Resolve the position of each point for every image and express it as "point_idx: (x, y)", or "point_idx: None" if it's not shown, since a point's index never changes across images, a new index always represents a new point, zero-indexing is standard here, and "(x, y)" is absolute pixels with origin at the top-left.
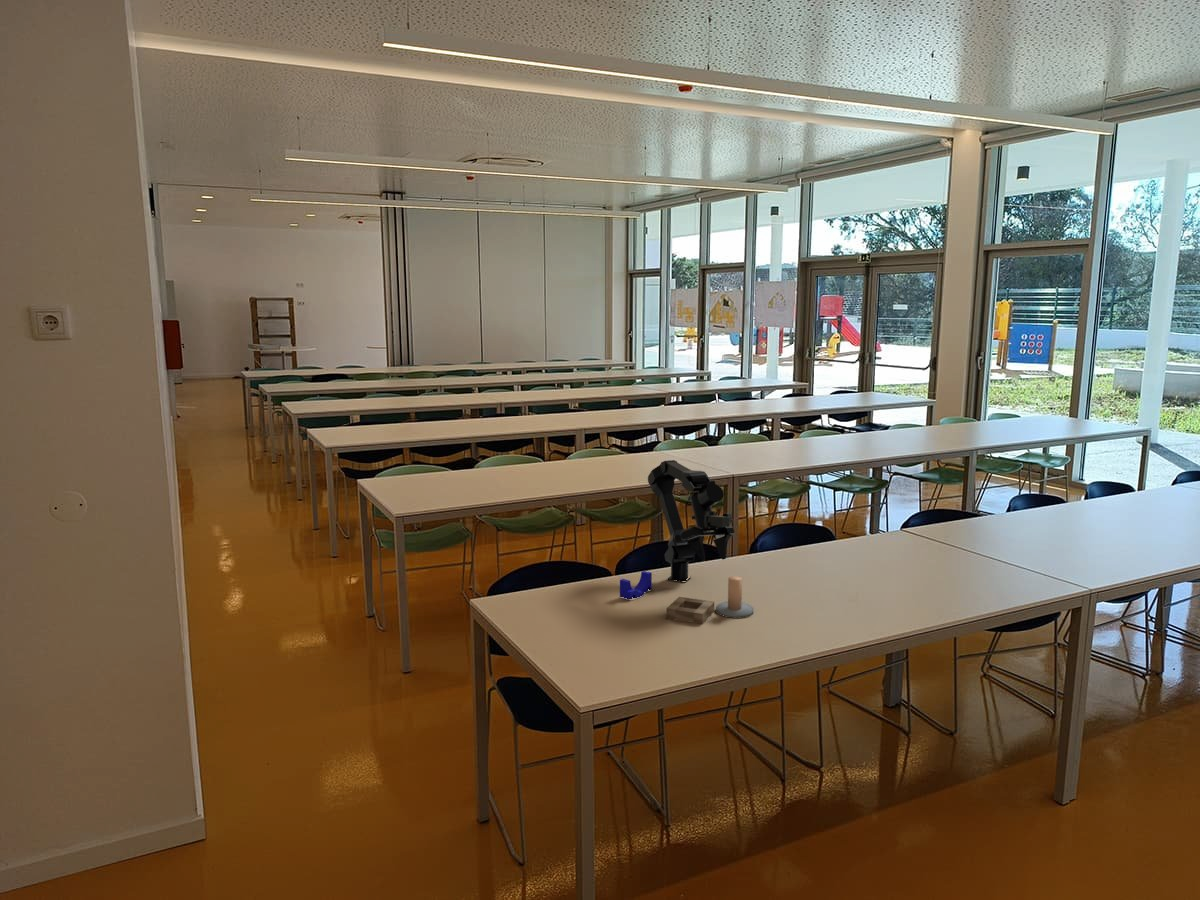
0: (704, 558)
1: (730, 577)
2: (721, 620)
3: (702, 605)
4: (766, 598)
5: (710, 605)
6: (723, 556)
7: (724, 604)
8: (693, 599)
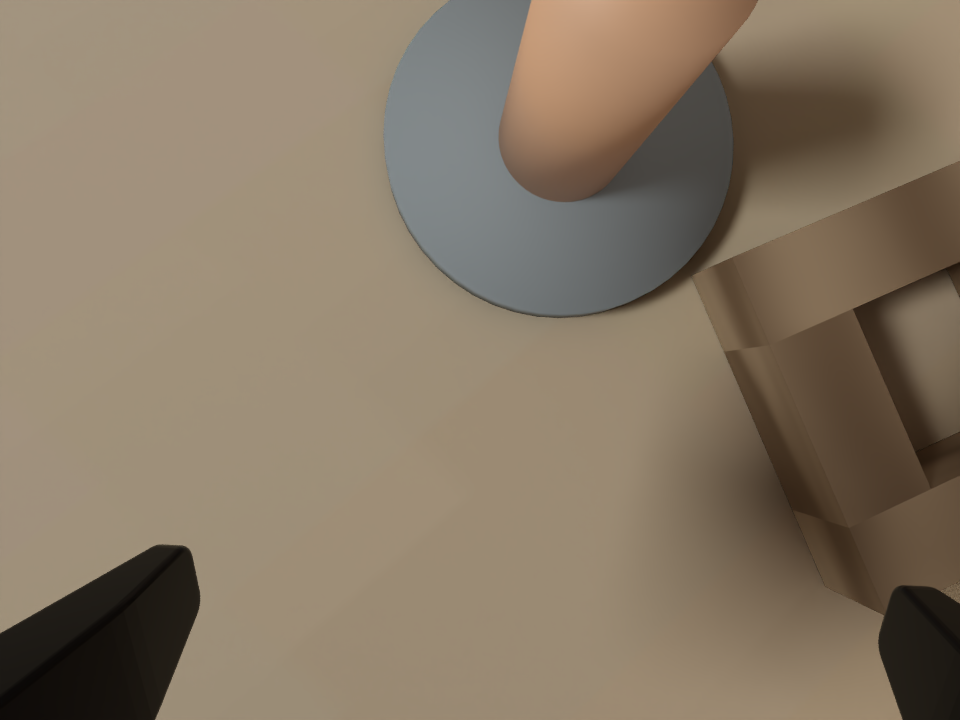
0: (956, 608)
1: (671, 38)
2: (805, 96)
3: (900, 268)
4: (45, 146)
5: (843, 211)
6: (163, 606)
7: (558, 265)
8: (841, 449)
